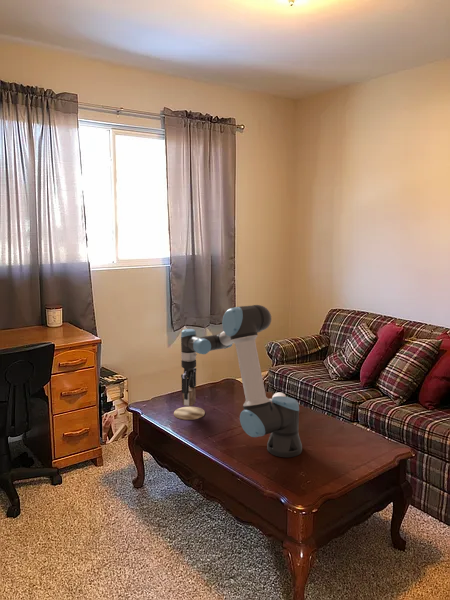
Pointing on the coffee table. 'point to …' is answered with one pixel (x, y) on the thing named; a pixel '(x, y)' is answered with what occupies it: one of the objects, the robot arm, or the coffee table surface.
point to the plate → (189, 413)
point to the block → (191, 396)
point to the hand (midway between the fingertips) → (189, 403)
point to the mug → (278, 395)
